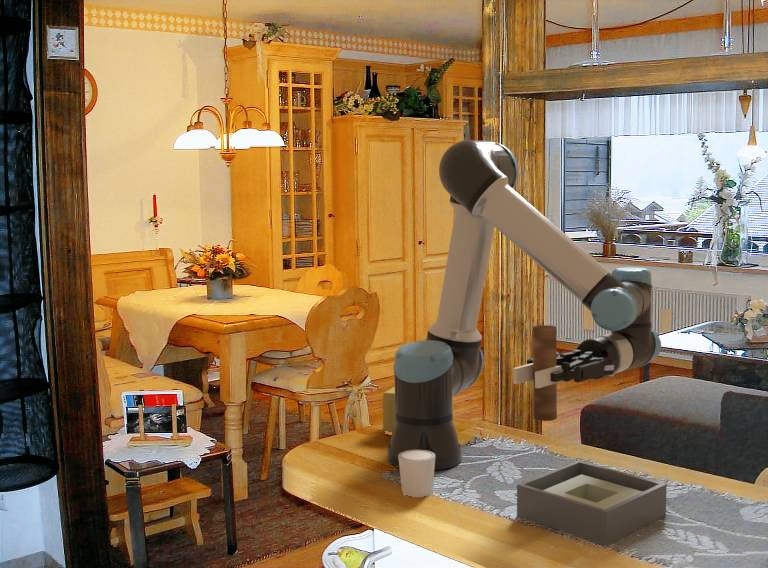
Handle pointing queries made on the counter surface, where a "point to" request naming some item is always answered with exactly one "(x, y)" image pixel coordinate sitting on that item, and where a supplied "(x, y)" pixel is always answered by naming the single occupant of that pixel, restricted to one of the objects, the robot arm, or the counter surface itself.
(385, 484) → the counter surface
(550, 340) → the peg
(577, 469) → the open box
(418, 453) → the white cup
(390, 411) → the cheese
